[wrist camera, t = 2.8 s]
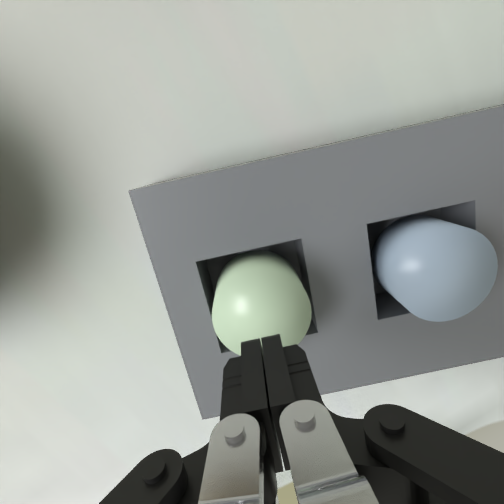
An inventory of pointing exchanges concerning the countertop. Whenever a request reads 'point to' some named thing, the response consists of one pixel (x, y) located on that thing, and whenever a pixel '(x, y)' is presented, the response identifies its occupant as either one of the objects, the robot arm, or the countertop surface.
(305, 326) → the sage button
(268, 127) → the countertop surface
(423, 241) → the slate button
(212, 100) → the countertop surface
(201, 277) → the button panel
